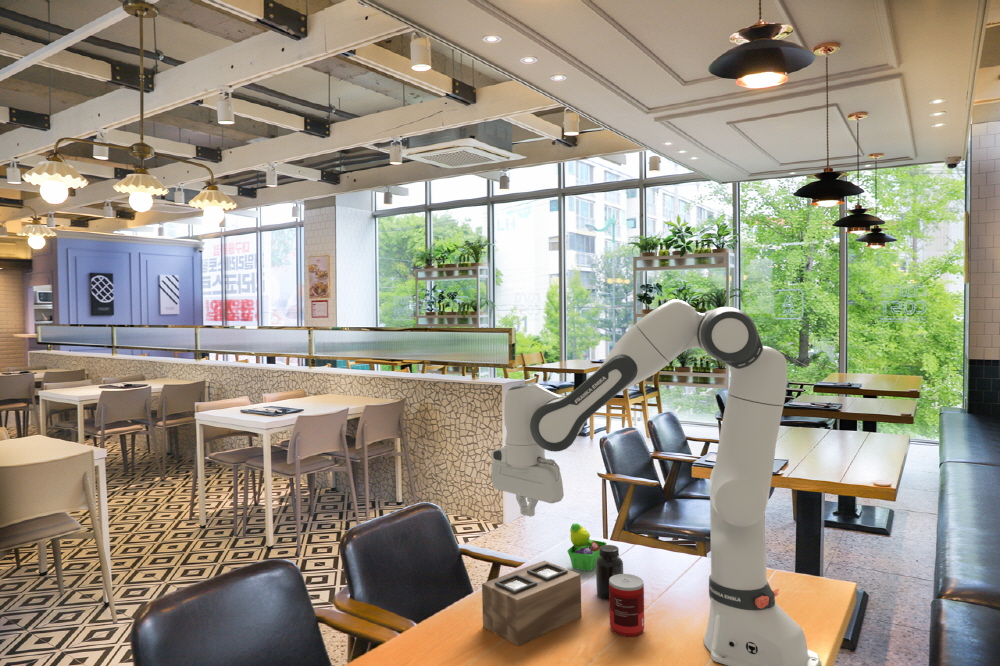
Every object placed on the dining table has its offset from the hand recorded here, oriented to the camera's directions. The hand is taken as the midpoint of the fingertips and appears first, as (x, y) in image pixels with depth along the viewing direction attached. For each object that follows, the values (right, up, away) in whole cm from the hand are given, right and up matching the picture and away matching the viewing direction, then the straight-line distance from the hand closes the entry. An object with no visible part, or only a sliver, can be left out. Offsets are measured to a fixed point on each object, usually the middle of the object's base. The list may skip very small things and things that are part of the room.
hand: (527, 515), depth 150 cm
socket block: (+1, -25, +3) cm, 26 cm away
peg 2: (+5, -24, +6) cm, 26 cm away
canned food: (+22, -25, -2) cm, 34 cm away
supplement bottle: (+21, -25, +16) cm, 37 cm away
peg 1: (-3, -25, -1) cm, 25 cm away
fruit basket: (+18, -24, +37) cm, 48 cm away
